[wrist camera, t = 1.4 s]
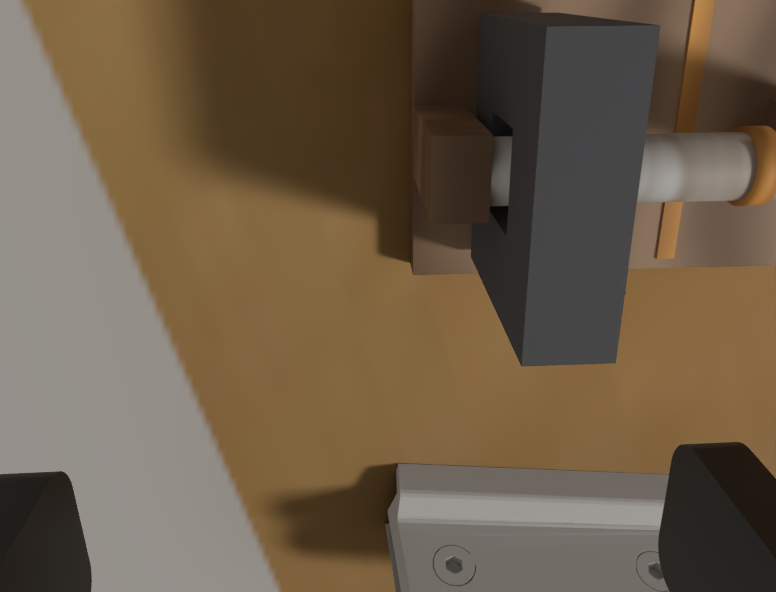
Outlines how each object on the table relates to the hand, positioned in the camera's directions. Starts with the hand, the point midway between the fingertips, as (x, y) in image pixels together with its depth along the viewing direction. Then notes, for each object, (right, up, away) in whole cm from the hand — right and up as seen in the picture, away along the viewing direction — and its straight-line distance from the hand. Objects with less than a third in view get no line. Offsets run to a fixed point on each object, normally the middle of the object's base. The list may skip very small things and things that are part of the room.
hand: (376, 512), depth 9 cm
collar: (+5, +9, +20) cm, 23 cm away
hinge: (+8, -10, +32) cm, 34 cm away
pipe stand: (+10, +10, +22) cm, 27 cm away
